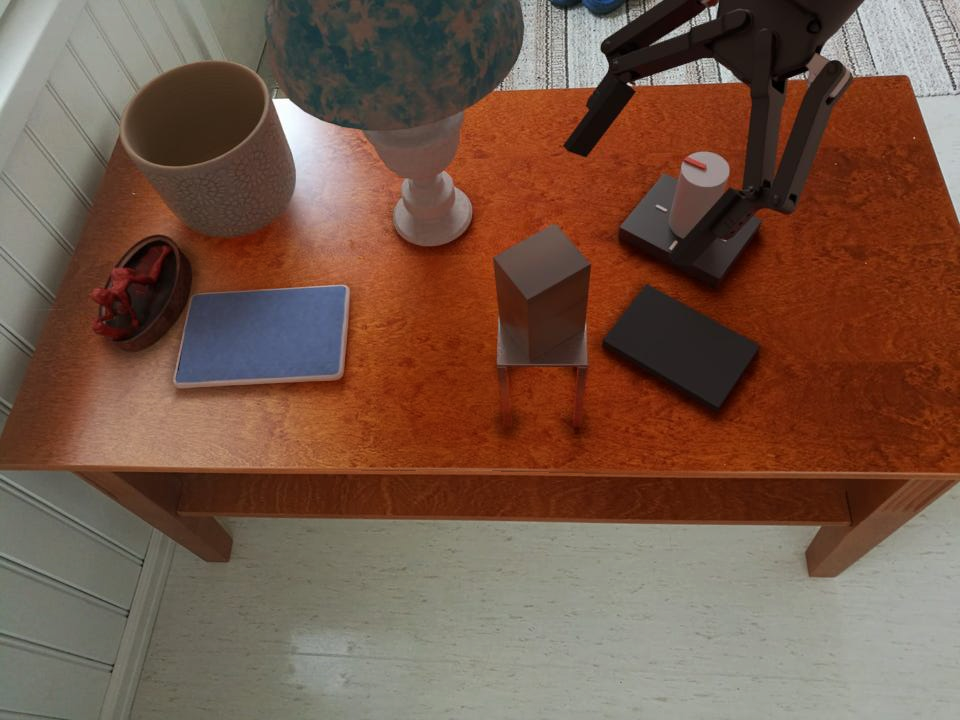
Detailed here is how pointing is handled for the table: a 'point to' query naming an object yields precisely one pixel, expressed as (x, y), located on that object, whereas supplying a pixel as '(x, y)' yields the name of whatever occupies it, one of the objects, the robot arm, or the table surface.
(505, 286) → the block
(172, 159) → the planter
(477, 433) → the table surface
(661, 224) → the panel
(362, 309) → the table surface
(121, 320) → the figurine
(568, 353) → the square metal stool
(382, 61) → the table lamp
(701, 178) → the oven dial
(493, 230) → the table surface
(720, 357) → the mat
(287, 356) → the tablet
